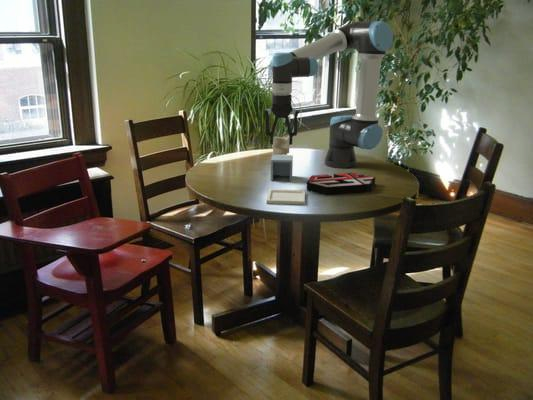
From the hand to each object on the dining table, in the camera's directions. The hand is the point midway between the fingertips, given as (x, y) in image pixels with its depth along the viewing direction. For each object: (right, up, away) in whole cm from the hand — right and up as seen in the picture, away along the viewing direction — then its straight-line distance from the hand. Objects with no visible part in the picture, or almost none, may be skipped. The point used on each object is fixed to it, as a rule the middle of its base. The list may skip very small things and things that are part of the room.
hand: (281, 152), depth 214 cm
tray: (+2, -19, -11) cm, 22 cm away
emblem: (+25, -15, +4) cm, 29 cm away
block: (0, 0, 0) cm, 0 cm away
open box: (+1, -10, +16) cm, 19 cm away
